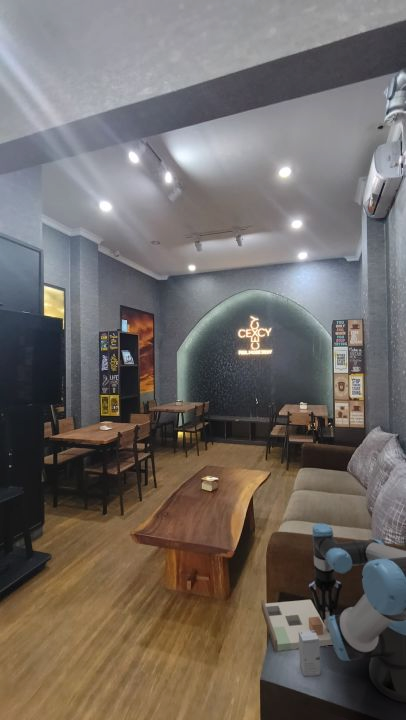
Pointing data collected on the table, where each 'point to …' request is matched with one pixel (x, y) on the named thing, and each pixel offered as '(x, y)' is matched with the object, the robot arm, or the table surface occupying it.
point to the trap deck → (291, 623)
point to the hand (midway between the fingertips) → (327, 626)
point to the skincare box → (309, 653)
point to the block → (316, 625)
